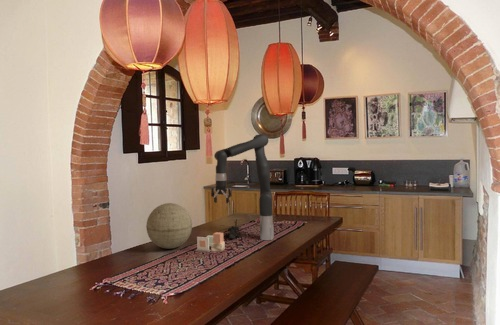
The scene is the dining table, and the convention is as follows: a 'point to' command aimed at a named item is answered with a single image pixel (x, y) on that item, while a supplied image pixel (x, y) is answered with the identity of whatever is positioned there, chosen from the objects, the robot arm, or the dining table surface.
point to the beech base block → (218, 246)
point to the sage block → (210, 239)
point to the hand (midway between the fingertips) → (221, 203)
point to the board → (203, 244)
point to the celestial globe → (169, 225)
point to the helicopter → (233, 231)
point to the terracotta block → (218, 237)
